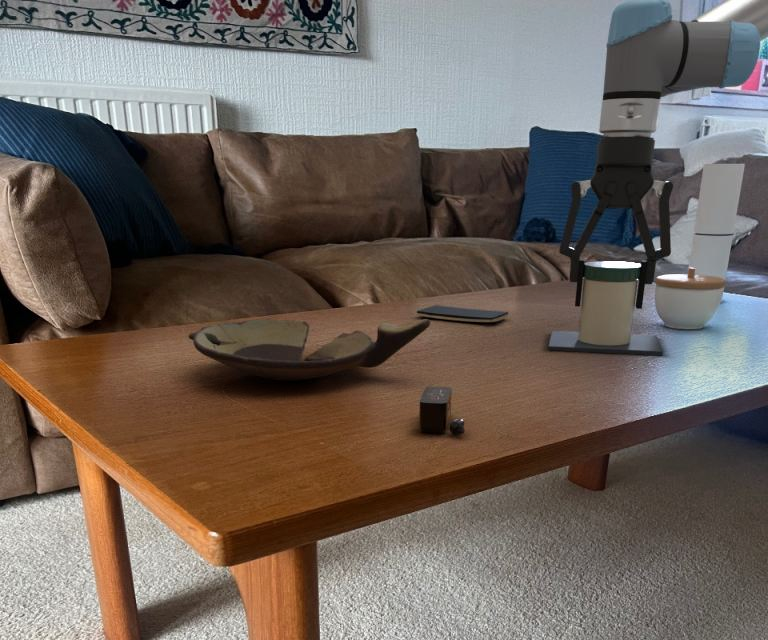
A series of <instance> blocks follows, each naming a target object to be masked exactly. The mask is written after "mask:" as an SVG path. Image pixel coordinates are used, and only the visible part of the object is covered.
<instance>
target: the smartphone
mask: <svg viewBox="0 0 768 640" xmlns="http://www.w3.org/2000/svg"><path fill="white" fill-rule="evenodd" d="M509 314H510V313H509V311H505V310H504V311H503V310H502V311H501V310H487V309H476V308H466V307H465V308H464V307H454V306H447V305H438V304H437V305H432V306H428V307H425V308H421V309H418V310H417V311H416V316H419V317H425V318H432V319H441V320H448V321H449V320H450V321H458V322H459V321H460V322H474V323H495V322H499V321H502V320H504V319H506V318H508V317H509Z"/></svg>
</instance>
